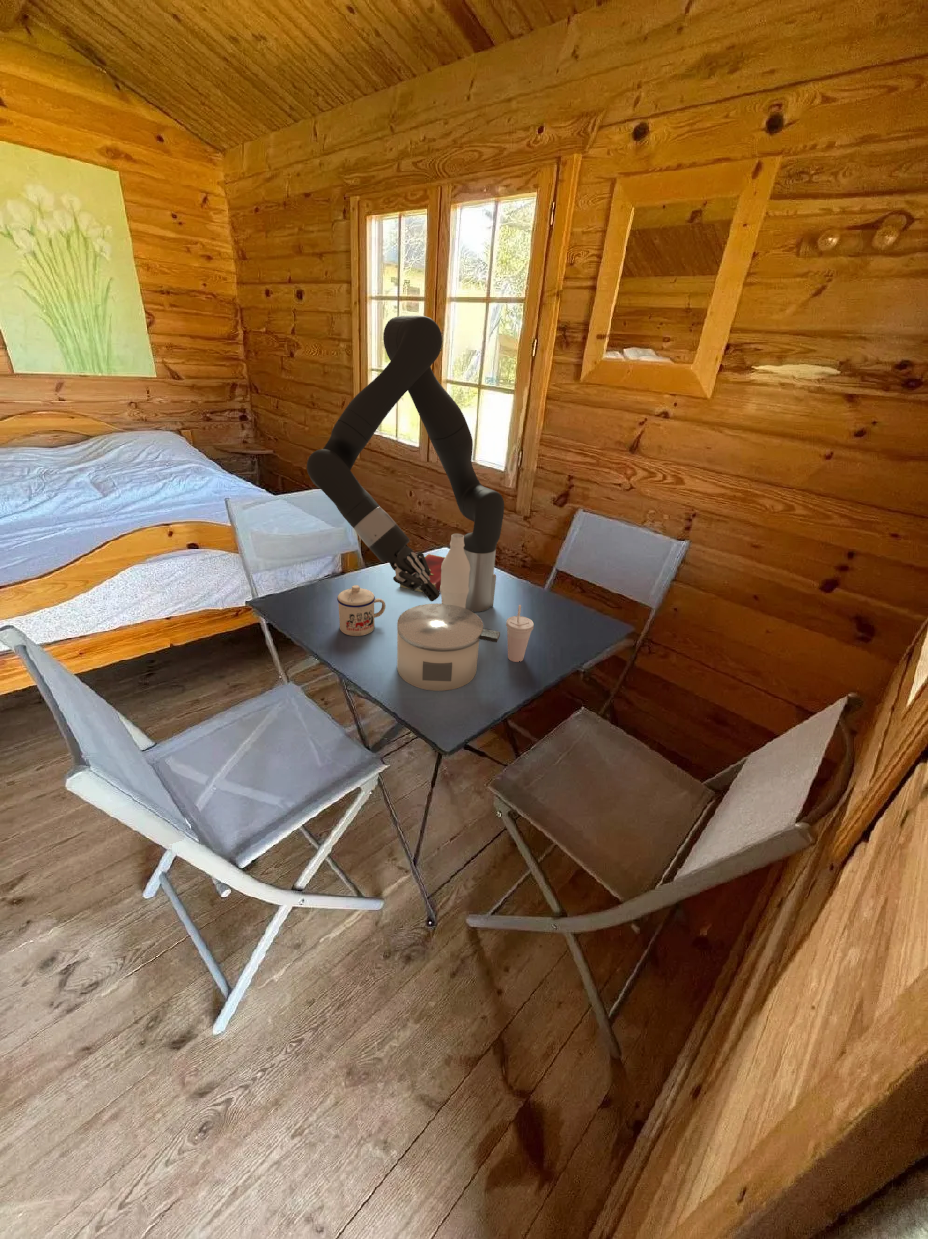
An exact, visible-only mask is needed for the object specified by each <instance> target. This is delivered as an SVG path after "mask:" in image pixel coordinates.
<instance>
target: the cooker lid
mask: <svg viewBox="0 0 928 1239" xmlns="http://www.w3.org/2000/svg"><path fill="white" fill-rule="evenodd" d="M396 624H397V625H396V626H397V627H396V628H397V629H396V631H397V630H398V634H399V635H400V637H401V638H402V639H403V640H404V641H405V642H407V643H409V644H410V645H412V646H415V647H417V648H420V649H424V650H430V651H438V652H447V651H457V650H461V649H465V648H468V647H470V646H472V645H474V644H475V643H477V642H478V641H479V642H480V640H482V641H487V642H491V643H498V641H499V639H500V636H501V631H498V630H492V629H487V628H484V623H483V621H482V618H480V616H479V615H477V614H476V613H475V612H473V611H470V610H468V609H465V608H463V607H459V606H455V605H450V604H441V603H427V604H426V603H424V604H420V605H416V606H413V607H411V608H408V609H407V610H405V611H404V612H401V614H400V615H399V616H398V618H397V623H396Z"/></svg>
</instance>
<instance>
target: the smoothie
mask: <svg viewBox="0 0 928 1239" xmlns="http://www.w3.org/2000/svg"><path fill="white" fill-rule="evenodd" d="M517 609H518V610H517V615H513V616H510V617H508V618H507V619H506V622H505V623H506V624H505V626H506V628H507V631H506V632H507V635H506V636H507V658H508V660H510V661H511V662H514V663H515V662H516V663H519V661H520V662H522V661H523V660H524V657H525V654H526V651H527V646H528V644H529V640H530V636H531V634H532V631H533V630H534V624H535V623H534V622H533V620H532V619H530V618H528V617H526V616H522V615H521V612H522V610H521V609H522V604H518V608H517Z"/></svg>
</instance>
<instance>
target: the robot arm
mask: <svg viewBox="0 0 928 1239" xmlns="http://www.w3.org/2000/svg"><path fill="white" fill-rule="evenodd" d="M382 336H383V346H384V349H385V353H386V355H387V357H388V359H389V360H390V361H389V363H388V364H387V365H386V366H385V368H384V369H383V370H382V371H381V372H380V374H379V375H378V376H377V375H376V377H375V378H374V379H373V380H372V381H371V382H370V383H368V384H366V386H365V387H364V388H363V389H362V390H361V391H359V392H358V393H357V394H356V395H355V396H354V397H353V398H352V400H351V401H350V402H349V403H348V404H347V406H346V407H345V409H344V410H343V412H342V413H341V415H340V416H339V418H338V419H337V421H336V422H335V424H334V426H333V427H332V430H331V433H330V436H329V439H328V441H326V444H325V445H324V446H323V448H322V449H321V448H320V449H317V450H315V451H313V452H312V453H311V454H310V455H309V456H308V458H307V461H306V471H307V474H308V476H309V478H310V481H311V482H312V484H313V485H314V486H315V487H316V488H318V489H320V490H321V491H322V492H323V493H324V494H325V495H326V496H327V497H328V499H329V500H330V501H331V502H332V503H333V504H334V505H335V506H336V508H337V510H338V511H339V513H340V515H342V517H343V518H344V519H345V520H346V522H347V523H348V524H349V525H350V526H351V527H352V529H353V530H354V531H355V532H356V534H357V535H358V536H359V539H360V540H361V541H362V542H363V543H364V544H365V545H366V546H367V548H368V549H369V550H370V551H371V552H372V553H373V554H374V556H376V558H377V559H378V560H379V561H380V562H381V563H383V564H384V563H386V562H388V563H389V565H390V567H391V569H392V570H393V571H394V572H395V576H393V577H392V578H393V579H392V580H393V581H394V582H395V583H397V584H399V585H400V584H401V585H403V586H405V587H407V588H409V589H408V590H411V591H415V590H416V589H420V590H422V592H421V593H423V594H424V595H425V597H427V599H429V601H430V602H434V601H436V600H437V599H438V598H440V596H441V592H440V591H438V590H437V589H436V588H435V586H434V585H433V584H432V583H431V582H430V577H429V576H430V575H431V573H430V570H429V567H428V565H427V562H426V560H425V555H424V553H423V552H422V551H420V552H419V553H415V552H414V550H413V549H412V548H411V547H409V545H408V543H410V538H409V537H408V535H407V534H406V533H405V532H404V531H403V530H402V529H401V527H400V526H399V525H398V524H397V522H396V521H395V520H394V519H393V518H392V517H391V516H390V515H389V513H388V512H386V511H385V510H384V508H382V507H381V506H380V505H379V503H378V502H377V501H376V500H375V499H374V497H373V496H372V495H371V494H370V493H369V492H368V491H367V490H366V489H365V488H364V487H363V486H362V485H361V483H360V482H359V481H358V479H357V478H356V476H355V475H354V473H353V472H352V469H353V466H354V464H355V463H356V461H357V459H358V457H359V456H360V454H361V452H363V449H365V447H366V446H367V444H368V443H369V442H370V440H371V439H372V438H373V436H374V434H375V433H376V431H377V430H378V428H379V426H380V425H381V423H382V422H383V421H384V419H386V417H387V415H388V414H389V413H390V412H391V410H392V409H393V408H394V407H395V405H396V404H397V403H398V402H399V401H400V400H401V399H402V397H403V396H404V395H405V394H406V393H407V392H408V394H409V396H410V398H411V401H412V402H413V404H414V407H415V409H416V411H417V413H418V415H419V418H420V420H421V422H422V425H423V426H424V428H425V431H426V433H427V435H428V439H429V440H430V442H431V444H432V447H433V449H434V450H435V453H436V455H437V456H438V459H439V461H440V463H441V465H442V467H443V470H444V472H445V474H446V476H447V478H448V481H449V483H450V486H451V488H452V492H453V495H454V498H455V501H456V505H457V507H458V510H459V512H460V513H461V515H462V516H463V517H464V518H466V519H467V520H469V521H472V522H473V527H472V528H473V529H472V532H468V533H465V534H463V535H464V544H465V546H464V552H465V555H466V557H467V559H468V561H469V564H470V573H469V586H468V587H469V592H468V595H467V598H466V606H465V608H466V609H468V610H470V611H472V612H474V613H475V612H476V613H477V612H478V613H479V612H483V611H487V610H489V609H490V608H491V607H494V604H495V603H494V601H495V593H496V592H495V591H496V583H497V582H496V581H497V575H496V574H495V573H494V571H495V563H496V552H497V551H496V550H497V544H498V542H499V540H500V537H501V534H502V528H503V520H504V515H505V501H504V498H503V496H502V495H501V493H500V492H499V491H496V490H494V489H492V488H488V487H486V486H484V485H483V484H482V483H481V482H480V480H479V479H478V477H477V475H476V474H477V473H476V472H475V470H474V467H473V464H472V462H473V460H472V459H473V458H472V457H473V450H474V449H473V448H474V447H473V444H474V443H473V442H474V441H473V435H472V433H471V430H470V428H469V425H468V422H467V421H466V417H465V416H464V414H463V411H462V410H461V408H460V406H458V404H457V403H456V401H455V400H454V399H453V398H452V396H451V395H450V394H449V393H448V391H447V390H445V388H444V387H443V386H442V384H441V383H440V382H439V380H438V379H437V377H436V376H435V374H434V372H433V370H432V367H431V366H432V365H433V364H434V362H435V361H436V360H437V359H438V357H439V355H440V353H441V351H442V346H443V335H442V332H441V329H440V327H439V324H437V322H435V320H434V319H432V318H431V317H428V316H425V315H418V314H417V315H416V314H415V315H414V314H413V315H397V316H394V317H392V318H390V319H389V320H388V321H387V323H386V324H385V327H384V328H383V334H382ZM424 570H425V571H424ZM414 572H415V573H414ZM411 583H412V584H411ZM407 588H406V589H407Z"/></svg>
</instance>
